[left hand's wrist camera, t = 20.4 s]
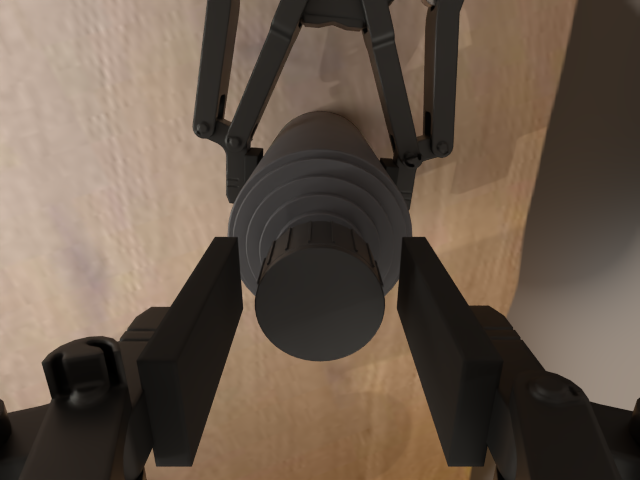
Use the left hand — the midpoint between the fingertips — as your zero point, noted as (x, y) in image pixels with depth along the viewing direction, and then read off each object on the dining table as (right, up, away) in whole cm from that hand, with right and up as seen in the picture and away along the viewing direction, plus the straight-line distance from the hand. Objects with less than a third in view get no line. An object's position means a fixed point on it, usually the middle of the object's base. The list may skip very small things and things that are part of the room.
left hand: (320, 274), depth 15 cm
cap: (0, -1, -2) cm, 2 cm away
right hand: (0, 0, +14) cm, 14 cm away
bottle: (0, +7, +18) cm, 19 cm away
